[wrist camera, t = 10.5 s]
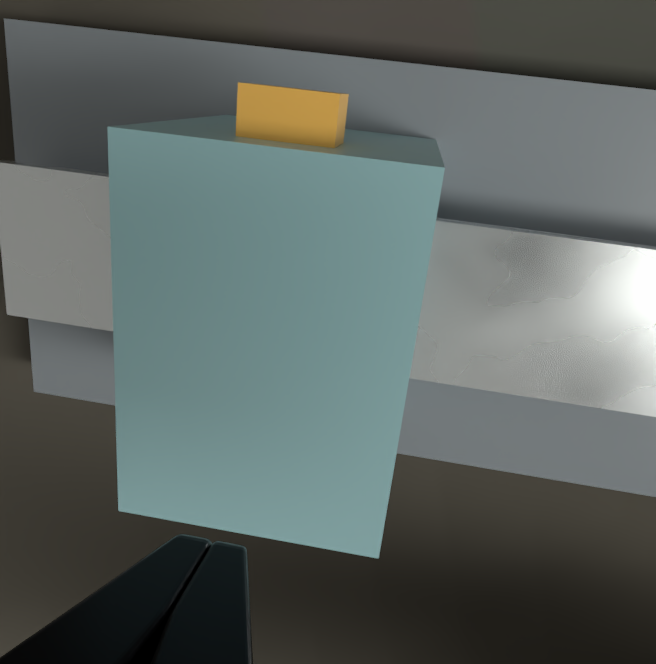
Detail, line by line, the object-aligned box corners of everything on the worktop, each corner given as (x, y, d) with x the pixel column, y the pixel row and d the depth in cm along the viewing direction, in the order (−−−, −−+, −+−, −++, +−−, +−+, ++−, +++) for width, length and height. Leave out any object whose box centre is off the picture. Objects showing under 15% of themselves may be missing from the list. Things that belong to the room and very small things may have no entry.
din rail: (820, 259, 14) (867, 278, 12) (758, 405, 15) (795, 439, 14) (33, 155, 16) (-8, 161, 14) (42, 296, 17) (6, 314, 16)
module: (442, 102, 14) (455, 107, 8) (393, 405, 17) (378, 558, 11) (227, 78, 14) (105, 68, 9) (215, 377, 17) (118, 510, 12)
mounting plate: (858, 115, 14) (906, 117, 13) (712, 478, 18) (736, 510, 16) (39, 25, 16) (3, 18, 15) (61, 371, 20) (33, 391, 18)
